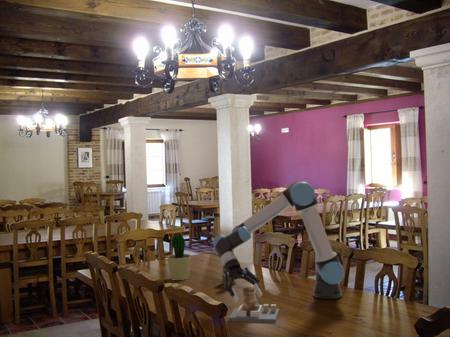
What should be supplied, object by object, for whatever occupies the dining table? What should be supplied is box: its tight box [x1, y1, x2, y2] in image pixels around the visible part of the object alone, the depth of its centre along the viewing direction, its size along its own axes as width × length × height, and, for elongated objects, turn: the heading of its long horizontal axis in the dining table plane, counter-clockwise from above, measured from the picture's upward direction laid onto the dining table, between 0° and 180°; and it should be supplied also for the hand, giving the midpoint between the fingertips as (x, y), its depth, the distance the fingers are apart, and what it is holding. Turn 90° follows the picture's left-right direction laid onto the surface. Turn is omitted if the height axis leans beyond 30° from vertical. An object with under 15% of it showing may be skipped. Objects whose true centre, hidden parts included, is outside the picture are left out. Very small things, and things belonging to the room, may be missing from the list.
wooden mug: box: [220, 265, 237, 286], centre depth 294 cm, size 9×14×18 cm, turn 26°
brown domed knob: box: [242, 286, 257, 315], centre depth 231 cm, size 7×7×12 cm
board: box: [227, 303, 280, 324], centre depth 231 cm, size 22×16×4 cm
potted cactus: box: [166, 232, 192, 281], centre depth 315 cm, size 15×15×30 cm
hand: (249, 298), depth 231 cm, fingers open, 13 cm apart
